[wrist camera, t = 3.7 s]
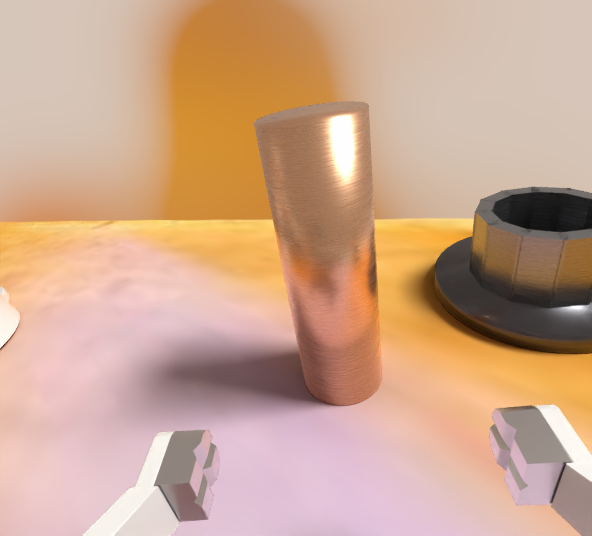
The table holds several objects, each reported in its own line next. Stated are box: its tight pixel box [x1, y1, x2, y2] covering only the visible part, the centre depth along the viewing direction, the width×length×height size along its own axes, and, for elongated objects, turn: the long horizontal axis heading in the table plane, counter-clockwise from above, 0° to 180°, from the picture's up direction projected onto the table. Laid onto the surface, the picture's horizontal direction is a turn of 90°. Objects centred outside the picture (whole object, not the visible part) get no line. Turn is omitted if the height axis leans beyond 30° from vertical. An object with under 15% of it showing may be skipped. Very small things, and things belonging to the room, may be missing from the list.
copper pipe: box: [254, 102, 382, 406], centre depth 21 cm, size 5×5×16 cm
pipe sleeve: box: [435, 187, 592, 354], centre depth 27 cm, size 14×14×6 cm
